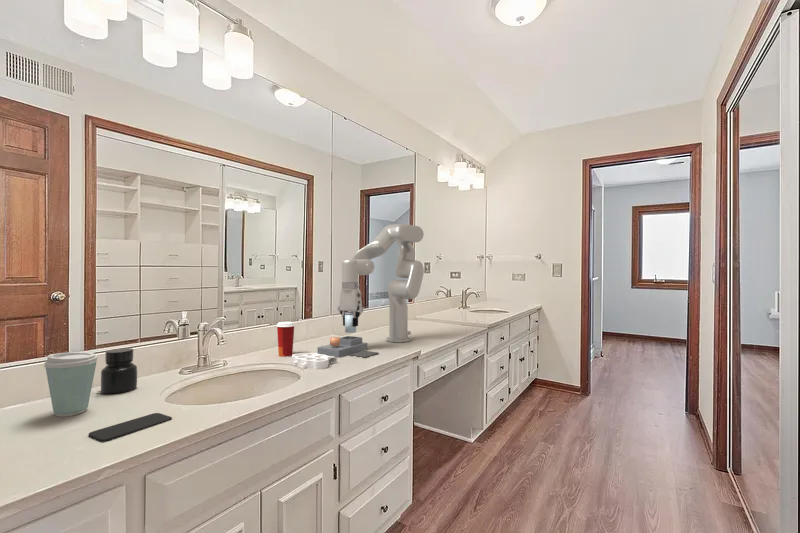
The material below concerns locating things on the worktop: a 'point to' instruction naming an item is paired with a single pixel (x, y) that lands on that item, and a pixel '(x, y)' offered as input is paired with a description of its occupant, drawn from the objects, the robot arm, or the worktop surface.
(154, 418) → the phone
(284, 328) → the paper cup
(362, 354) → the mat
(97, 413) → the worktop surface
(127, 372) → the ink bottle
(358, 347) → the grey stepped block
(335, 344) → the plunger
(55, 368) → the disposable coffee cup
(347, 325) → the cylinder
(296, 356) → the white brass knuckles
